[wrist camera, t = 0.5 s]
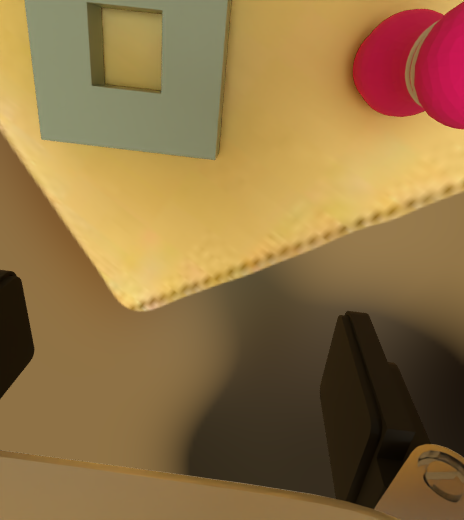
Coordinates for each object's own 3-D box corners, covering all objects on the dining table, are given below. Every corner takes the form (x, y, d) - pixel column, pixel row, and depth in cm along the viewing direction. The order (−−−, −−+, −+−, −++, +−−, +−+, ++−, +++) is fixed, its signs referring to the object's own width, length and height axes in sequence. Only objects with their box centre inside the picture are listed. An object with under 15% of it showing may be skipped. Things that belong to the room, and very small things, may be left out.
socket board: (36, -74, 31) (14, -88, 28) (235, -54, 30) (232, -66, 28) (57, 134, 38) (41, 139, 35) (218, 153, 37) (215, 160, 35)
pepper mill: (340, 32, 32) (430, -11, 14) (432, 3, 31) (658, -85, 13) (353, 120, 35) (441, 176, 17) (437, 97, 34) (626, 131, 16)
